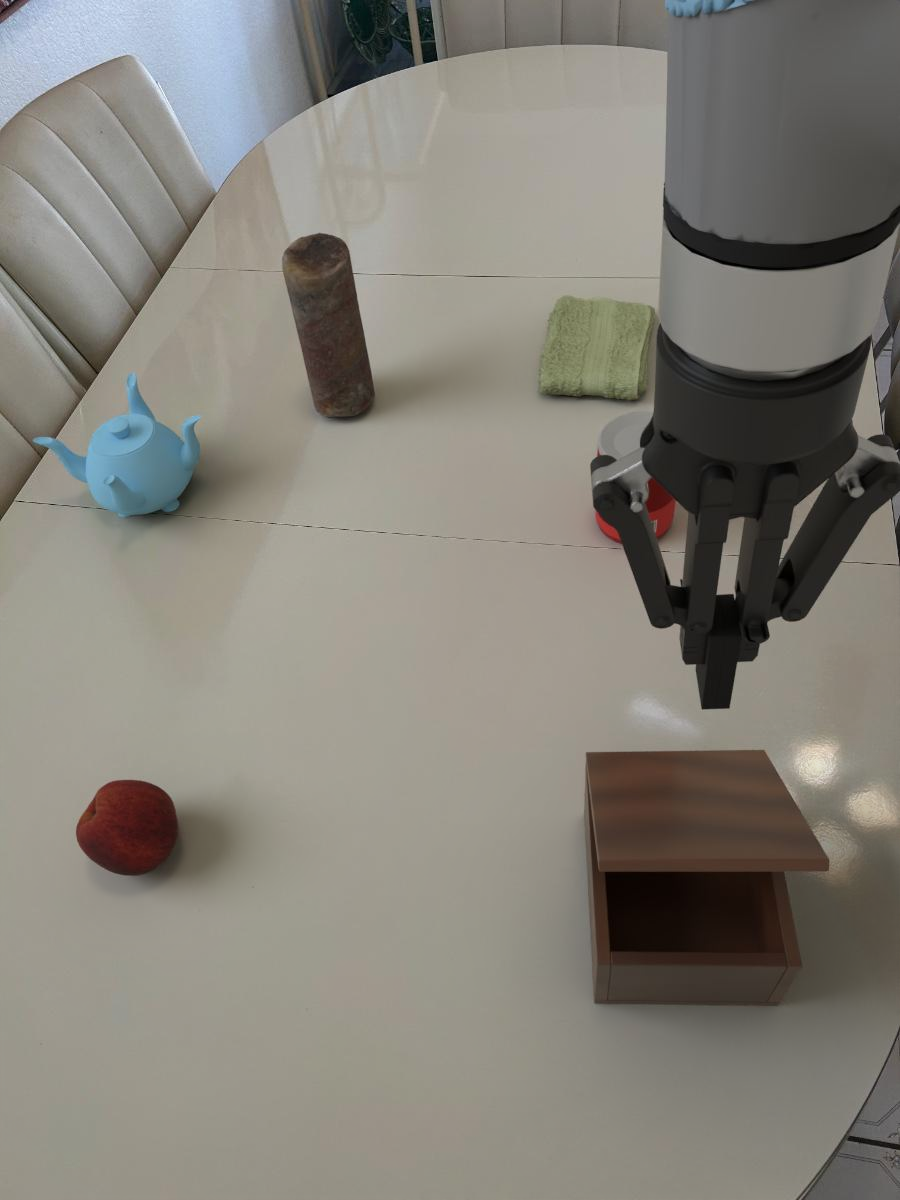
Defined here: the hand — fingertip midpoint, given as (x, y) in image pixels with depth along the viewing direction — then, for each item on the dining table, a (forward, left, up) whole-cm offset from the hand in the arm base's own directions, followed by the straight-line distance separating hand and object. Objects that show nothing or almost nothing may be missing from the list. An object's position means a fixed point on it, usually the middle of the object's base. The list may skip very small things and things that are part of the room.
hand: (712, 688), depth 52 cm
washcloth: (+38, -52, -27) cm, 70 cm away
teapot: (+69, -7, -27) cm, 74 cm away
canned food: (+21, -31, -27) cm, 46 cm away
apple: (+37, +22, -27) cm, 50 cm away
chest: (-1, +2, -26) cm, 26 cm away
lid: (-1, +1, -12) cm, 13 cm away
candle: (+59, -30, -27) cm, 71 cm away
